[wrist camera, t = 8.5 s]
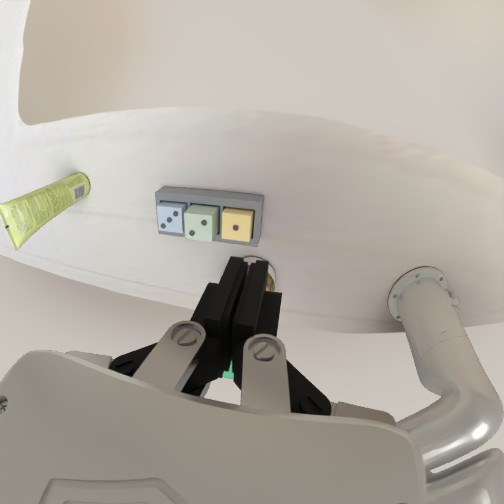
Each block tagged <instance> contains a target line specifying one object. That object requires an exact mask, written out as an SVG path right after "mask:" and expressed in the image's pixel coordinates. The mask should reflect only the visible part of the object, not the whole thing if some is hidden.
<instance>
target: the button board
mask: <svg viewBox="0 0 504 504" xmlns="http://www.w3.org/2000/svg"><path fill="white" fill-rule="evenodd" d="M155 197H156V210H157V205H159V204H160V203H161V202H162V201H176V202H187V204H188V208H189V207H190V206H191V205H192V204H199V205H209V206H218V207H219V232H218V233H217V235H216V237H215V238H214V240H213V241H218V242H225V243H233V244H240V245H247V246H255V247H257V246H258V242H259V239H260V231H261V220H262V208H263V197H264V196H263V195H254V194H245V193H236V192H226V191H215V190H204V189H192V188H178V187H162V188H161V189H159V190H158V191H157V192H155ZM226 207H235V208H244V209H253V210H255V214H254V227H253V233H252V236H251V239H250V242H245V241H237V240H230V239H222V212H223V211H224V209H225V208H226ZM157 222H158V215H157ZM158 232H159V234H165V235H173V236H180V237H185V231H184V232H183V233H175V232H168V231H160V230H159V227H158Z"/></svg>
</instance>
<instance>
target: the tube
mask: <svg viewBox="0 0 504 504" xmlns="http://www.w3.org/2000/svg"><path fill="white" fill-rule="evenodd" d="M89 190H90V184H89V181H88V179H87V177H86V176H85V175H84V174H83V173H77V174H74V175H72V176H69V177H67V178H64V179H62V180H59V181H57V182H55V183H52V184H50V185H47V186H45V187H43V188H40V189H38V190H35V191H33V192H31V193H28V194H26V195H23V196H21V197H18V198H16V199H13V200H11V201H8V202H5V203H2V204H0V216H1V219H2V222H3V224H4V226H5V229H6V231H7V234H8V236H9V238H10V241H11V243H12V245H13V247H14V250H15V251H16V250H18V249H19V248H20V247H21V246H22V244H23V243H24V242H25V241H26V240H27V239H28V238H30V237H31V236H32V235H33V234H34V233H35V232H36V231H37V230H39V229H40V228H41V227H42V226H43V225H45V224H46V223H47V222H49V221H50V220H51V219H52V218H54V217H55V216H57V215H58V214H59V213H61V212H62V211H64V210H65V209H67V208H68V207H70V206H71V205H73V204H74V203H76V202H77V201H79V200H81V199H82V198H84V197H85V196H87V195H88V193H89Z"/></svg>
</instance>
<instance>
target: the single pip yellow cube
mask: <svg viewBox="0 0 504 504" xmlns="http://www.w3.org/2000/svg"><path fill="white" fill-rule="evenodd" d="M254 214H255V210H253V209H244V208H235V207H226V208H225V209H224V211H223V212H222V239H230V240H237V241H245V242H250V239H251V236H252V233H253V227H254Z"/></svg>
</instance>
